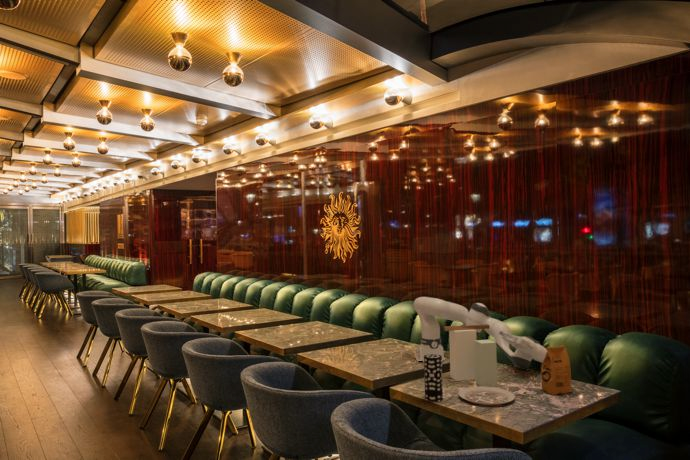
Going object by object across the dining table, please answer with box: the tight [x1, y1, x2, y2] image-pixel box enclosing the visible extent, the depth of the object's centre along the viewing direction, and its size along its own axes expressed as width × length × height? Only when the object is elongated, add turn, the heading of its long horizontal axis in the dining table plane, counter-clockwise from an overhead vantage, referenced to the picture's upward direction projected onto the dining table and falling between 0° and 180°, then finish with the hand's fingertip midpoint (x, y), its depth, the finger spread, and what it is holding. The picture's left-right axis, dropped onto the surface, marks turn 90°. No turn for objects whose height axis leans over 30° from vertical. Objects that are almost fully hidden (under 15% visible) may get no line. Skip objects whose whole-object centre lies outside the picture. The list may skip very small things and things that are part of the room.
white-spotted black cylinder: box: [423, 354, 444, 403], centre depth 233 cm, size 8×8×20 cm
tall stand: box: [448, 330, 478, 382], centre depth 266 cm, size 8×12×26 cm, turn 101°
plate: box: [458, 385, 516, 406], centre depth 232 cm, size 26×26×2 cm
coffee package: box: [540, 344, 572, 396], centre depth 240 cm, size 10×12×22 cm
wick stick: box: [443, 324, 490, 332], centre depth 267 cm, size 3×25×2 cm, turn 101°
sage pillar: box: [474, 339, 498, 387], centre depth 254 cm, size 8×8×22 cm
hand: (503, 333), depth 271 cm, fingers open, 8 cm apart
